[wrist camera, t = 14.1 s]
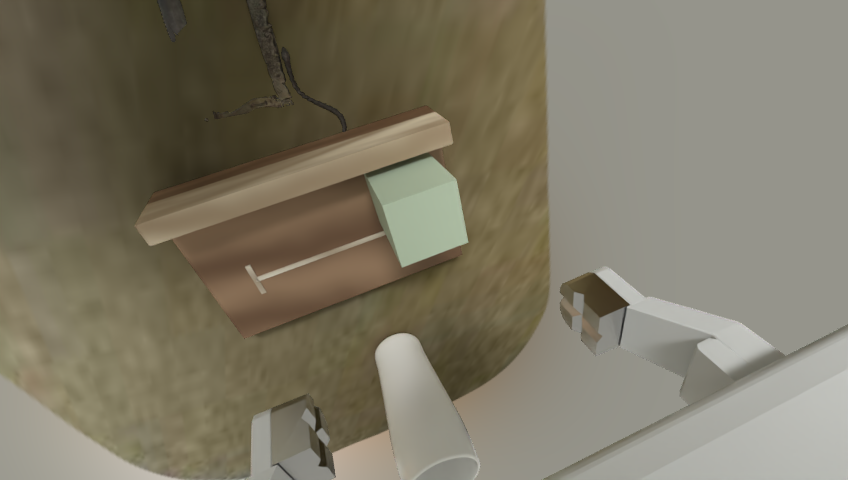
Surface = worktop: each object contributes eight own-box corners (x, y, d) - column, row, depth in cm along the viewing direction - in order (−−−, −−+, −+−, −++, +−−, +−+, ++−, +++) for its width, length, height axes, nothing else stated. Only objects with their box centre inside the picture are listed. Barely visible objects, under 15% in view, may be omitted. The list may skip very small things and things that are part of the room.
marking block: (361, 167, 30) (382, 205, 24) (422, 147, 30) (456, 179, 25) (384, 235, 33) (406, 282, 28) (438, 215, 34) (471, 257, 28)
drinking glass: (361, 337, 41) (398, 478, 29) (421, 317, 43) (480, 443, 31) (373, 377, 45) (411, 515, 33) (428, 357, 47) (483, 483, 35)
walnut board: (153, 192, 28) (133, 225, 24) (426, 105, 31) (449, 121, 27) (245, 323, 36) (242, 364, 32) (454, 244, 39) (475, 272, 35)
